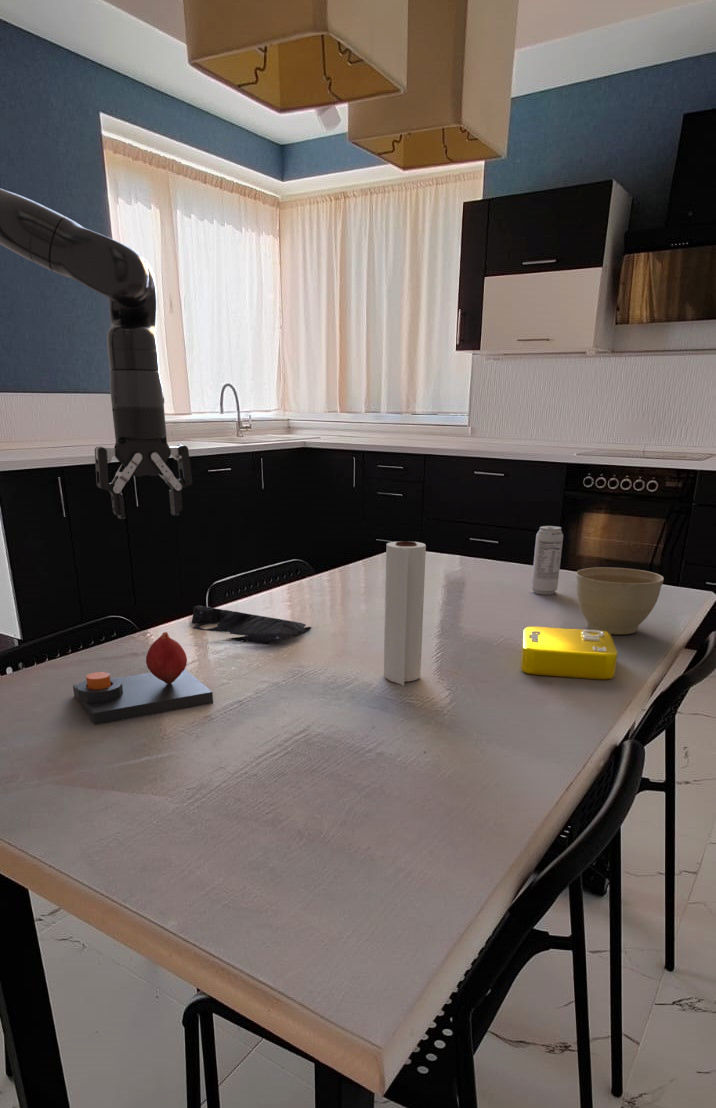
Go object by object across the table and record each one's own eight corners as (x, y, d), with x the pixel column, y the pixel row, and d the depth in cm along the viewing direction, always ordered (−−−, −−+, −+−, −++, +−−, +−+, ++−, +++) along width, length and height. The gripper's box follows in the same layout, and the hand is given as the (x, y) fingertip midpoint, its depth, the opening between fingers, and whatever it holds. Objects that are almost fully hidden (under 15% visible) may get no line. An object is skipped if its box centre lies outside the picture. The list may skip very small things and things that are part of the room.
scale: (91, 726, 105) (87, 702, 103) (70, 697, 115) (67, 675, 113) (213, 704, 113) (211, 681, 111) (184, 678, 123) (182, 657, 122)
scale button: (90, 692, 108) (88, 680, 107) (85, 685, 110) (83, 673, 110) (113, 688, 109) (112, 676, 109) (107, 681, 112) (106, 670, 111)
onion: (140, 687, 114) (135, 634, 111) (163, 675, 119) (158, 624, 115) (174, 692, 112) (169, 639, 109) (196, 680, 117) (191, 629, 114)
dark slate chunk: (275, 651, 137) (274, 625, 135) (177, 635, 146) (174, 610, 144) (317, 631, 149) (317, 607, 148) (224, 617, 158) (223, 594, 156)
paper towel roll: (396, 668, 129) (400, 538, 120) (427, 675, 126) (433, 542, 117) (371, 679, 123) (374, 544, 115) (403, 687, 120) (408, 548, 112)
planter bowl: (672, 632, 151) (681, 577, 146) (618, 645, 142) (627, 587, 138) (605, 615, 163) (612, 563, 158) (552, 626, 154) (558, 571, 150)
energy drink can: (556, 590, 184) (564, 526, 178) (556, 595, 179) (564, 529, 173) (531, 588, 185) (537, 525, 180) (530, 594, 180) (536, 528, 174)
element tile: (521, 648, 140) (524, 622, 138) (607, 654, 137) (610, 628, 135) (520, 674, 126) (523, 646, 125) (615, 681, 124) (619, 652, 122)
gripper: (176, 404, 121) (184, 511, 127) (83, 403, 114) (96, 516, 120) (192, 405, 115) (200, 516, 121) (95, 404, 108) (108, 522, 115)
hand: (148, 516), depth 121 cm, fingers open, 8 cm apart
